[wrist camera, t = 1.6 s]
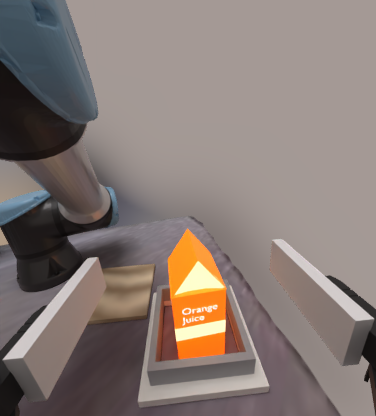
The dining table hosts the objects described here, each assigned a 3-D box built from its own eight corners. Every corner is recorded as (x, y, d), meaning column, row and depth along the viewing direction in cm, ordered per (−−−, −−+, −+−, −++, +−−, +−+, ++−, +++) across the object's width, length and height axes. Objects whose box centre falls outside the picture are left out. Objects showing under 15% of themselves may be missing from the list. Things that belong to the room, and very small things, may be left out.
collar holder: (154, 297, 41) (151, 281, 39) (230, 290, 41) (231, 273, 40) (139, 407, 24) (133, 387, 22) (268, 392, 25) (272, 371, 23)
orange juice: (179, 366, 28) (165, 265, 21) (174, 315, 36) (163, 230, 29) (225, 355, 29) (228, 255, 22) (211, 308, 37) (209, 224, 30)
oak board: (99, 271, 50) (98, 268, 50) (155, 266, 51) (154, 263, 51) (67, 326, 35) (65, 323, 35) (146, 318, 36) (146, 315, 36)
